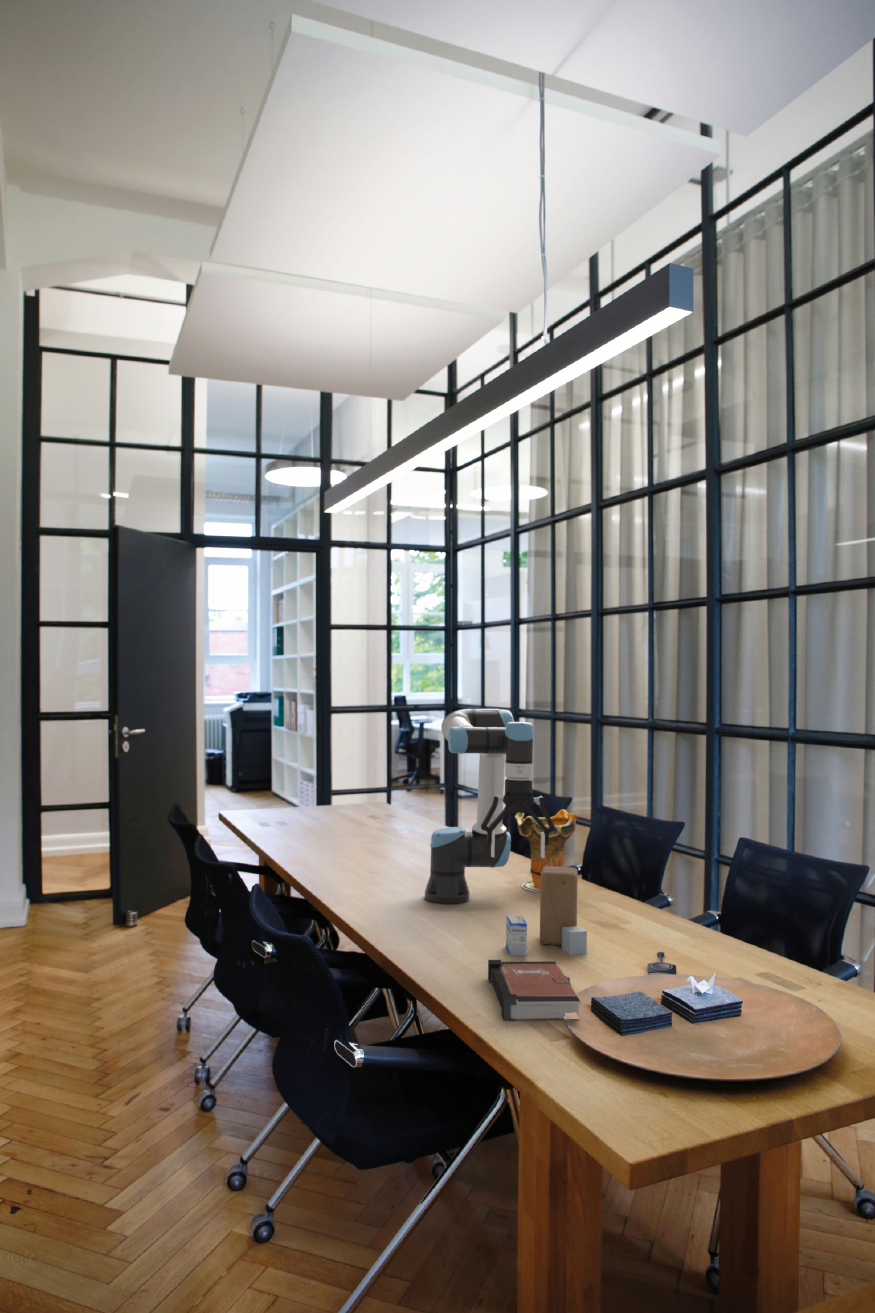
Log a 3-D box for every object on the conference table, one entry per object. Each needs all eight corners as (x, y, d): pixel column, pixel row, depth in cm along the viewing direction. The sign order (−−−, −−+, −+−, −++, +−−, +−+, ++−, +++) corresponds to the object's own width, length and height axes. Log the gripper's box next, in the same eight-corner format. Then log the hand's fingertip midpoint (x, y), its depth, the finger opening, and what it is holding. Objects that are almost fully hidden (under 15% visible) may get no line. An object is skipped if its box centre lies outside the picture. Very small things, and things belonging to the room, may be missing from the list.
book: (583, 1022, 183) (583, 999, 183) (503, 1023, 182) (503, 999, 182) (557, 979, 209) (558, 959, 210) (487, 980, 208) (488, 959, 208)
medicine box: (505, 947, 234) (506, 915, 234) (521, 946, 234) (522, 915, 234) (510, 956, 226) (510, 923, 226) (526, 956, 226) (527, 923, 226)
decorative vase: (501, 882, 307) (506, 805, 309) (556, 881, 316) (560, 805, 318) (530, 896, 288) (535, 813, 290) (587, 894, 297) (591, 814, 299)
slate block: (569, 954, 228) (569, 932, 228) (562, 949, 233) (562, 927, 233) (586, 953, 229) (586, 931, 229) (578, 948, 234) (579, 926, 234)
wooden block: (575, 947, 234) (576, 874, 235) (539, 944, 236) (540, 872, 237) (576, 937, 244) (577, 867, 244) (542, 934, 246) (543, 865, 246)
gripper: (473, 779, 227) (472, 858, 227) (566, 780, 227) (565, 860, 227) (472, 776, 235) (471, 853, 234) (562, 777, 235) (561, 854, 234)
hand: (517, 857), depth 230 cm, fingers open, 13 cm apart
